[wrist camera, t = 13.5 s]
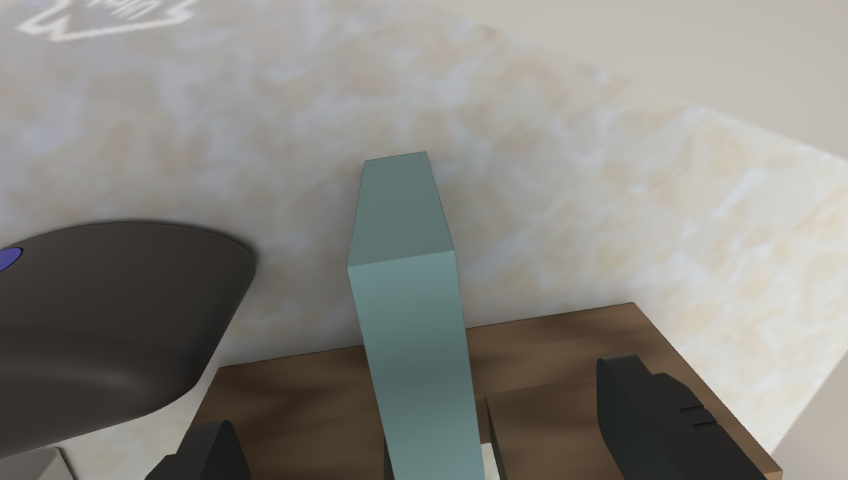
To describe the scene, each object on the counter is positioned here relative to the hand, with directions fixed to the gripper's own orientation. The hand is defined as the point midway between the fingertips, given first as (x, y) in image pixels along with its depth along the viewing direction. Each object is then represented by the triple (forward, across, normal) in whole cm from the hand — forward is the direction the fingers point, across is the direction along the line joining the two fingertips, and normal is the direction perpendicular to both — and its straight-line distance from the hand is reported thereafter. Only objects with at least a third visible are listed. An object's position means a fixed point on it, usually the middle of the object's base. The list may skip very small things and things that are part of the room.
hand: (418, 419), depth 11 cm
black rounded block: (+12, +14, +1) cm, 19 cm away
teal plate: (+12, 0, +7) cm, 14 cm away
